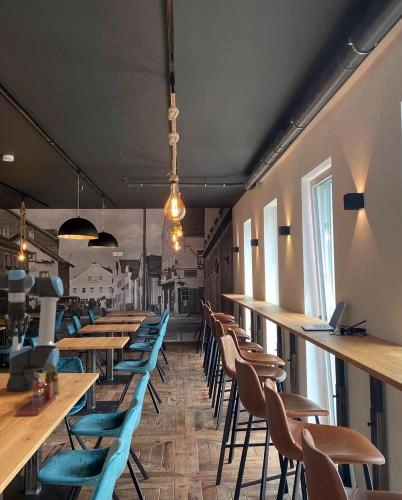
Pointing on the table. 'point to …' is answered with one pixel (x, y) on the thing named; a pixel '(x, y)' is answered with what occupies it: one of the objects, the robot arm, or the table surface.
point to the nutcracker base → (38, 407)
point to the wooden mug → (51, 378)
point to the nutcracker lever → (34, 378)
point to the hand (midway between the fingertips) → (16, 350)
